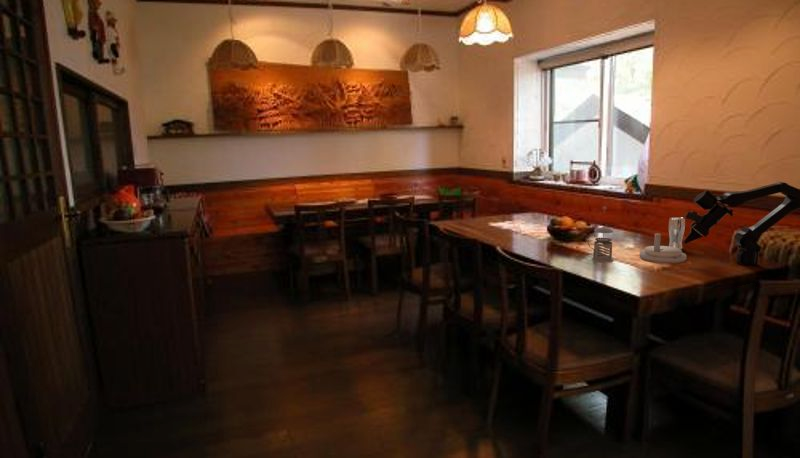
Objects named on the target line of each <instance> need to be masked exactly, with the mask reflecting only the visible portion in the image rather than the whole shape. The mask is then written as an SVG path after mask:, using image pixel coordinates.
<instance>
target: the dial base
mask: <svg viewBox="0 0 800 458" xmlns="http://www.w3.org/2000/svg"><path fill="white" fill-rule="evenodd" d="M644 252H645V249H642V250H640V251H639V256H640V257H639V258H640V259H641V258H642V259H641V260H643V259H644V260H643V261H646V262H651V261H652V262H653V263H659V264H660V263H661V264H678V263H679V264H680V263H684V262H686V261H687V254H686V253H684V252H682V253H681V256H679V257H656V256H650V255H647V254H645V253H644Z"/></svg>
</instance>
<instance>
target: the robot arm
mask: <svg viewBox="0 0 800 458" xmlns="http://www.w3.org/2000/svg"><path fill="white" fill-rule="evenodd" d="M779 193H780V194H781V195H783V196H785V198H784V200H783V201H782V203H781V204H780V205H778V206H777V207H776V208H774V209H773V210H772V211H770V212H769V213H768V214H767V215H765V216H763V218H761V219H760V220H759V221H758V222H756V223H755V224H753V225H752V226H749V227H747V226H745V225H744V226H743V227H742V228H740V230H738V231H736V232H735V234H734V237H733V241H734V243H735V244H737V247H738V252H737V257H736V261H735V263H737V264H740V265H742V266H746V267H748V266H750V267H751V266H760V263H758V262H759V254H760V251H762V247H761V246H760V245H759V244H758V241H759V240H760V239H761V236H762V235H763V234H764V233H765V232H766V231H768V230H769V229H771V228H773V226H775V225H776V224H777V223H779V222H780V221H781V220H783V219H784V218H785V217H786V216H788V215H789V214H790V213H792V212H793V211H796V210H798V209H800V188H797V187H795V186H793V185H790V184H789V183H787V182H785V181H784V182H783V181H776V182H774V183H771V184H768V185H766V184H765V185H763V186H760V187H759V186H758V187H756V188H752V189H747V190H738V191H737V190H736V191H727V192H725V193H723V194H722V195H719V196H715V195H713V194H712V192H710V191H709V190H704V191H703V192H701V193H699V194H697V195H696V196H695V198H694V199H693V203H695V204H696V205H697V206H699V208H700V207H701V209H702V210H703V211H706V210H708V211H707V212H706V213H703V214H702V215H700V214H698V212H697V211H696V210H692V211H690V210H689V211H687V212H686V213H685V216H684V218H685V219H687V220H691V221H693V222H692V223H691V224H690V231H689V234H688V235H687V236H686V238H685V239H684V241H683V243H684V244H689V243H690V242H693V241H696V240H699V239H701V238H703V237H704V238H706V237H707V236H708V235H710V230H711V229H712V228H713V227H714V226H716V225H717V224H718V222H719V221H721V220H722V219H723V218H724V217H726V215H729V216H730V217H733V216H734V209H732V208H737V207H739V206H741V205H744V204H746V203H747V202H750V201H751V200H755V199H759V198H763V197H766V196H771V195H775V194H779ZM720 204H722V205H720ZM728 207H730V208H728Z"/></svg>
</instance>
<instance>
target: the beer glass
mask: <svg viewBox="0 0 800 458" xmlns="http://www.w3.org/2000/svg"><path fill="white" fill-rule="evenodd" d="M668 220H669V221H668V234H669V244H668V246H669V247H675V248H679V249H681V250H682V249H683V244H682V243H683V237H684V235H685V234H684V233H685V228H686V218H685V217H678V216H677V217H676V216H675V217H674V216H673V217H669V219H668Z"/></svg>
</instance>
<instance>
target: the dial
mask: <svg viewBox="0 0 800 458" xmlns="http://www.w3.org/2000/svg"><path fill="white" fill-rule="evenodd" d="M661 236H662V234H661V233H654V243H653V245H648V246H645V247H644V250H645V252H644V253H645V254H647V255H650V256H656V257H679V256H681V253H683V251H682V249H679V248H675V247H669V245H668V246H667V245H661V238H662V237H661Z"/></svg>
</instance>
